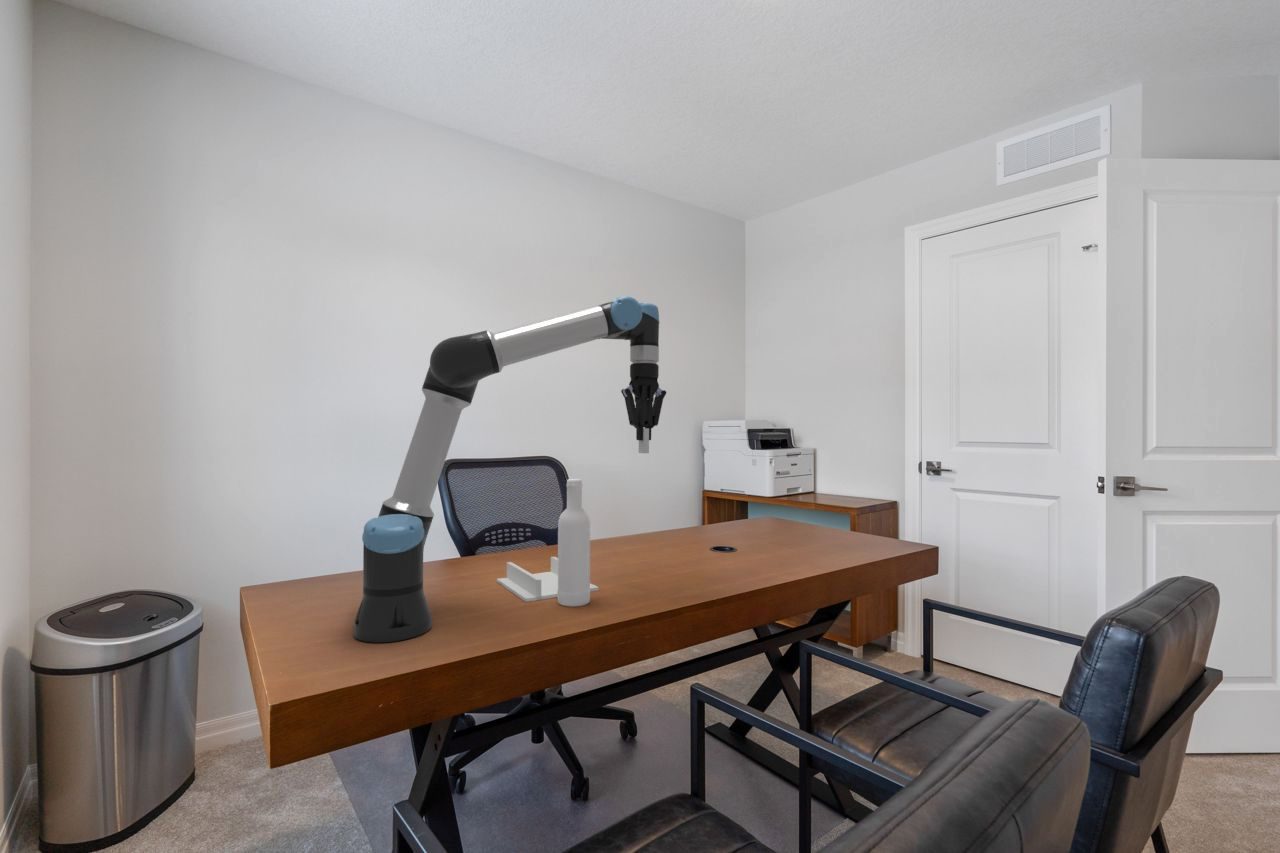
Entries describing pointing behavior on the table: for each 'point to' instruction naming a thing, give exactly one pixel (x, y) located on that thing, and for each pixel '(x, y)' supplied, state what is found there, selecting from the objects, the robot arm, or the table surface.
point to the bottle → (574, 549)
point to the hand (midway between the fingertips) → (643, 453)
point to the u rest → (533, 582)
